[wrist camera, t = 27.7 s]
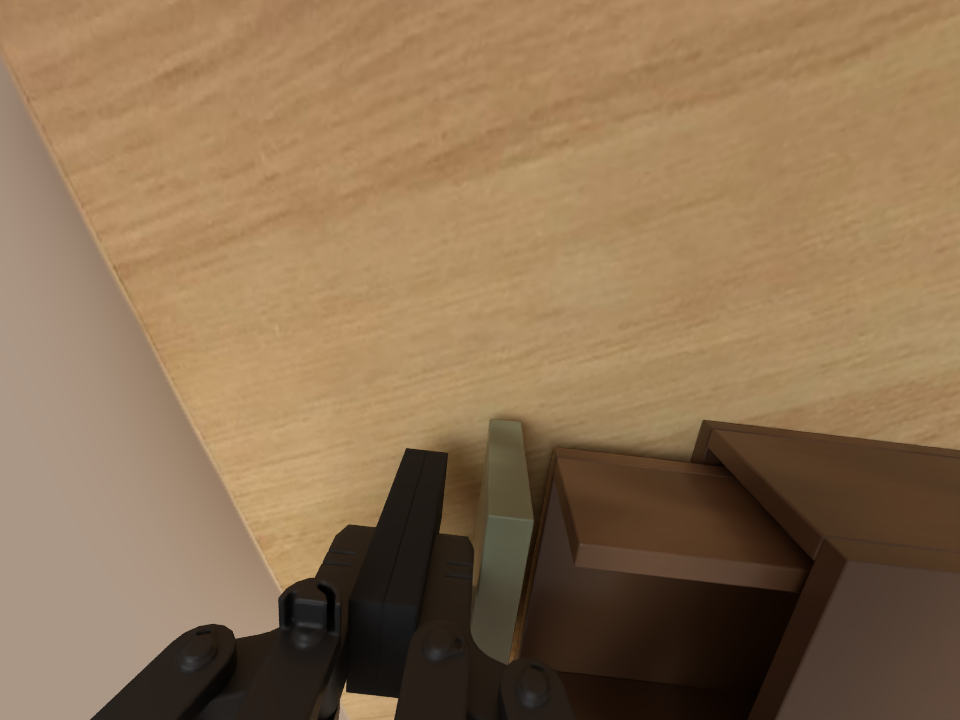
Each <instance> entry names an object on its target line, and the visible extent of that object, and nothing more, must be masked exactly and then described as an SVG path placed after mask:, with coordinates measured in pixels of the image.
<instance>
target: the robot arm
mask: <svg viewBox="0 0 960 720" xmlns="http://www.w3.org/2000/svg"><path fill="white" fill-rule="evenodd" d="M447 459H448V453H444V452H435V451H426V450H418V449H409V448H406V450H405V453H404V456H403V458H402V461H401V463H400V466H399V469H398V471H397V474H396V477H395V479H394V482H393V485H392V487H391V490H390V492H389V495H388V498H387V500H386V503H385V506H384V508H383V511H382V513H381V516H380V519H379V521H378V524H377V527H367V526H358V525H347V526H346V527H345V528H344V529H343V530H342V531H341V532H339V533H338V534H337V535H336V536H335V538H334V540H333V542H332V544H331V546H330V548H329V551H328V552H327V554H326V556H325V558H324V560H323V564H321V566H320V568H319V570H318V572H317V574H316V576H315V578H308V579H305V580H301V581H298V582H296V583H294V584H293V585H291V586H290V587H288V588H287V589H286V590H285V591H284V592H283V593H282V594H281V596H280V597H279V599H278V602H279V628H277V629H275V630H272V631H270V632H267V633H263V634H259V635H254V636H248V637H243V638H237V639H235V637H234V634H233V631H232V630H230V629H229V628H227V627H226V626H223V625H217V624H210V625H203V626H199V627H196V628H194V629H192V630H189V631H187V632H185V633H184V634H182V635H181V636H180V637H178V638H177V639H176V640H174V641H173V642H172V643H171V644H170V645H169V646H167V648H165V649H164V650H163V651H162V652H161V653H160V654H159V655H158V656H157V657H156V658H155V659H154V660H153V661H152V662H151V663H149V665H147V666H146V667H145V668H144V669H143V670H142V671H141V672H140V673H139V674H138V675H137V676H136V677H135V678H134V679H133V680H132V681H130V683H128V684H127V685H126V686H125V687H124V688H123V689H122V690H121V691H120V692H119V693H118V694H117V695H116V696H115V697H114V698H113V699H112V700H111V701H109V702H108V703H107V704H106V705H105V706H104V707H103V708H102V709H101V710H100V711H99V712H98V713H97V714H96V715H95V716H94V717H93V718H91V719H90V720H338V719H339V711H340V698H341V695H342V692H343V688H344V685H345V682H346V692H349V693H358V694H367V695H376V696H385V697H394V698H398V703H397V708H396V713H395V718H394V720H577V719H576V717H575V714H574V711H573V709H572V706H571V704H570V701H569V698H568V696H567V693H566V690H565V688H564V685H563V683H562V681H561V679H560V678H559V676H558V674H557V673H556V671H554V670H553V669H552V668H551V667H550V666H549V665H548V664H547V663H545V662H542V661H540V660H538V659H536V658H526V657H522V658H519V659H516V660H513V661H512V662H511V663H510V664H509V665H506V664H504V663H501V662H499V661H497V660H495V659H493V658H491V657H490V656H488V655H486V654H485V653H484V652H483V651H482V650H481V649H479V648H478V646H477V645H476V643H475V642H474V640H473V637H472V634H471V630H470V617H471V600H472V583H473V565H474V548H473V546H472V544H471V542H470V540H469V538H468V537H466V536H457V535H448V534H440V533H439V530H440V524H441V518H442V509H443V499H444V489H445V479H446V469H447ZM346 679H347V681H346Z"/></svg>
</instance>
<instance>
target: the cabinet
mask: <svg viewBox="0 0 960 720" xmlns="http://www.w3.org/2000/svg"><path fill="white" fill-rule="evenodd" d="M691 463H694V464H703V465H711V466H720V467H726V468H727V469H728V470H729V471H730V472H731V473H732V474H733V475H734V476H735V477H736V478H737V479H738V480H739V482H740V483H741V484H742V485H743V486H744V487H745V488H746V489H747V490H748V491H749V492H750V493H751V494H752V496H753V497H754V498H755V499H756V500H757V501H758V502H759V503H760V504H761V505H762V506H763V507H764V508H765V509H766V511H767V512H768V513H769V514H770V515H771V516H772V517H773V518H774V519H775V520H776V521H777V522H778V523H779V525H780V526H781V527H782V528H783V529H784V530H785V531H786V532H787V533H788V534H789V535H790V536H791V537H792V538H793V540H794V541H795V542H796V543H797V544H798V545H799V546H800V547H801V548H802V549H803V550H804V551H805V552H806V554H807V555H808V556H809V557H810V558H811V559H812V560H814V561H815V562H814V564H813V567H812V569H811V571H810V574H809V576H808V578H807V581H806V583H805V585H804V588H803V590H802V593H801V595H800V597H799V600H798V602H797V604H796V607H795V609H794V611H793V614H792V616H791V618H790V621H789V623H788V625H787V628H786V630H785V632H784V635H783V637H782V640H781V642H780V644H779V647H778V649H777V651H776V654H775V656H774V658H773V661H772V663H771V665H770V668H769V670H768V672H767V675H766V677H765V679H764V682H763V684H762V687H761V689H760V691H759V694H758V696H757V698H756V701H755V703H754V705H753V708H752V710H751V712H750V715H749V717H748V719H747V720H960V451H958V450H949V449H941V448H933V447H924V446H916V445H908V444H899V443H891V442H882V441H874V440H866V439H857V438H849V437H840V436H832V435H824V434H815V433H807V432H798V431H790V430H782V429H773V428H765V427H757V426H748V425H740V424H731V423H723V422H715V421H706V420H704V421H703V423H702V426H701V429H700V433H699V436H698V439H697V443H696V446H695V450H694V453H693V456H692V460H691Z"/></svg>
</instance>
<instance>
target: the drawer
mask: <svg viewBox="0 0 960 720" xmlns="http://www.w3.org/2000/svg"><path fill="white" fill-rule="evenodd" d="M533 525H534V516H533V508H532V501H531V493H530V486H529V478H528V471H527V463H526V456H525V448H524V440H523V433H522V425H521V422H516V421H507V420H499V419H490V421H489V429H488V436H487V443H486V451H485V458H484V466H483V473H482V481H481V488H480V495H479V503H478V510H477V518H476V525H475V533H474V540H473V548H474V565H473V583H472V600H471V617H470V630H471V634H472V637H473V640H474V642H475V643H476V645H477V646H478V648H479V649H481V650H482V651H483V652H484V653H485V654H486V655H488V656H490V657H491V658H493V659H495V660H497V661H499V662H501V663H504V664H506V665H508V662H509V657H510V651H511V646H512V640H513V635H514V629H515V624H516V618H517V613H518V607H519V602H520V596H521V591H522V585H523V580H524V574H525V569H526V563H527V558H528V553H529V547H530V542H531V536H532V531H533ZM814 562H815V561H814V560H812V559H811V558H810V557H809V556H808V555H807V554H806V552H805V551H804V550H803V549H802V548H801V547H800V546H799V545H798V544H797V543H796V542H795V541H794V540H793V538H792V537H791V536H790V535H789V534H788V533H787V532H786V531H785V530H784V529H783V528H782V527H781V526H780V525H779V523H778V522H777V521H776V520H775V519H774V518H773V517H772V516H771V515H770V514H769V513H768V512H767V511H766V509H765V508H764V507H763V506H762V505H761V504H760V503H759V502H758V501H757V500H756V499H755V498H754V497H753V496H752V494H751V493H750V492H749V491H748V490H747V489H746V488H745V487H744V486H743V485H742V484H741V483H740V482H739V480H738V479H737V478H736V477H735V476H734V475H733V474H732V473H731V472H730V471H729V470H728V469H727V468H726V467H720V466H711V465H703V464H694V463H686V462H677V461H669V460H661V459H652V458H644V457H635V456H627V455H618V454H610V453H601V452H593V451H585V450H576V449H568V448H559V447H554V449H553V454H552V459H551V465H550V470H549V475H548V481H547V486H546V491H545V497H544V502H543V508H542V513H541V518H540V524H539V529H538V534H537V540H536V545H535V550H534V556H533V561H532V566H531V572H530V577H529V582H528V588H527V593H526V599H525V604H524V609H523V615H522V620H521V625H520V631H519V636H518V641H517V647H516V652H515V657H514V660H516V659H519V658H522V657H526V658H536V659H538V660H540V661H542V662H545V663H547V664H548V665H549V666H550V667H551V668H552V669H553V670H554V671H556V673H557V674H558V676H559V678H560V679H561V681H562V683H563V685H564V688H565V690H566V693H567V696H568V698H569V701H570V704H571V706H572V709H573V711H574V714H575V717H576V719H577V720H747V719H748V717H749V715H750V712H751V710H752V708H753V705H754V703H755V701H756V698H757V696H758V694H759V691H760V689H761V687H762V684H763V682H764V679H765V677H766V675H767V672H768V670H769V668H770V665H771V663H772V661H773V658H774V656H775V654H776V651H777V649H778V647H779V644H780V642H781V640H782V637H783V635H784V632H785V630H786V628H787V625H788V623H789V621H790V618H791V616H792V614H793V611H794V609H795V607H796V604H797V602H798V600H799V597H800V595H801V593H802V590H803V588H804V585H805V583H806V581H807V578H808V576H809V574H810V571H811V569H812V567H813V564H814Z"/></svg>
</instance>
